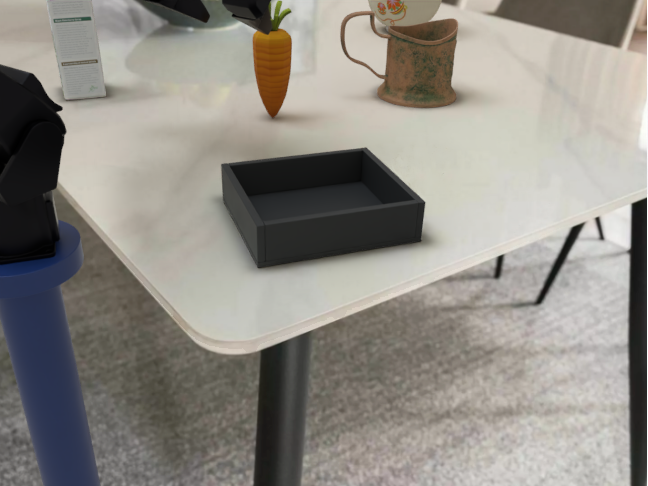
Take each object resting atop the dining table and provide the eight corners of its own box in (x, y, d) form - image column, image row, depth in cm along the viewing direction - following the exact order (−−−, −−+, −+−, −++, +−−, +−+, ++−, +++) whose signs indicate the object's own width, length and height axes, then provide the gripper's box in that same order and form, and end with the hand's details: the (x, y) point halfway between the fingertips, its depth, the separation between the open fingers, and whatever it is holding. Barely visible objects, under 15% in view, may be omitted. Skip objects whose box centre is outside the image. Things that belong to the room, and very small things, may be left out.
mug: (328, 87, 102) (331, 4, 96) (437, 81, 106) (446, 1, 100) (350, 112, 92) (354, 21, 86) (469, 105, 96) (481, 17, 90)
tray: (257, 268, 57) (256, 226, 55) (222, 200, 68) (220, 163, 66) (421, 241, 62) (425, 201, 60) (364, 182, 73) (366, 147, 71)
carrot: (276, 108, 93) (276, -7, 85) (299, 118, 90) (300, 0, 82) (246, 115, 90) (243, -3, 83) (268, 126, 87) (266, 4, 79)
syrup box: (107, 97, 95) (92, -13, 88) (63, 101, 93) (44, -11, 86) (102, 85, 100) (88, -20, 93) (60, 88, 98) (42, -18, 90)
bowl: (345, 29, 136) (347, -24, 131) (398, 19, 146) (402, -31, 141) (405, 45, 126) (410, -12, 121) (458, 33, 136) (464, -20, 131)
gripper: (272, -139, 62) (333, -24, 75) (128, -145, 71) (207, -41, 84) (219, -37, 60) (292, 61, 74) (78, -56, 69) (167, 35, 82)
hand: (237, 25), depth 78 cm, fingers open, 9 cm apart
